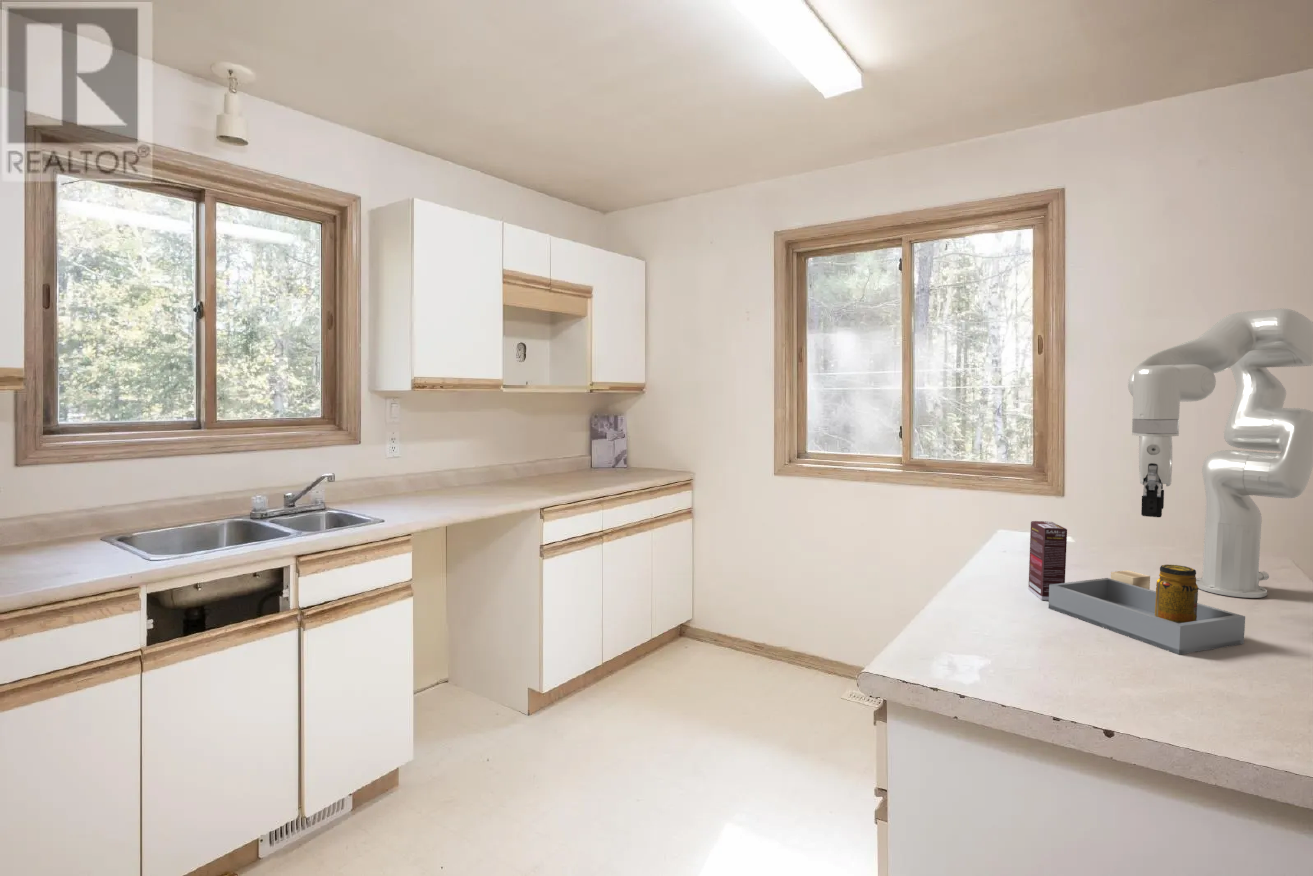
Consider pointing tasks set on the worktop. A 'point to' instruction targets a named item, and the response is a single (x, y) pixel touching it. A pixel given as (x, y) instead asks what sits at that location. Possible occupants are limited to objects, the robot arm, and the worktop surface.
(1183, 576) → the condiment
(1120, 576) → the cube
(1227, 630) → the tote
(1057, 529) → the supplement box
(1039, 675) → the worktop surface
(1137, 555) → the worktop surface
